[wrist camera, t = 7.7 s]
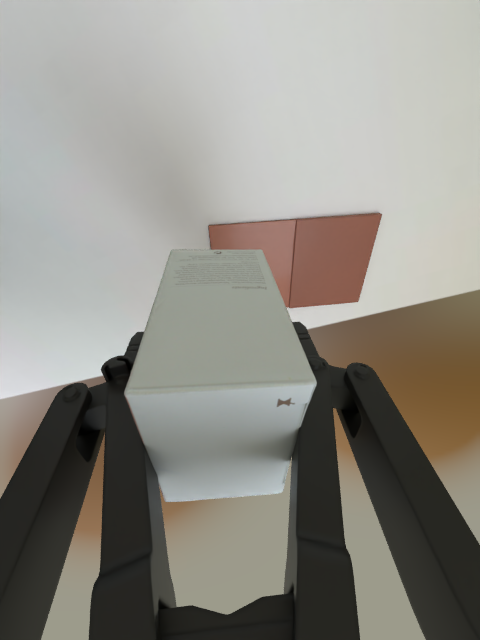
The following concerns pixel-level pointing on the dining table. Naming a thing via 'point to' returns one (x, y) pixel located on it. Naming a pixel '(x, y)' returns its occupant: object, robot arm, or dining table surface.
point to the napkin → (308, 254)
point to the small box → (219, 378)
